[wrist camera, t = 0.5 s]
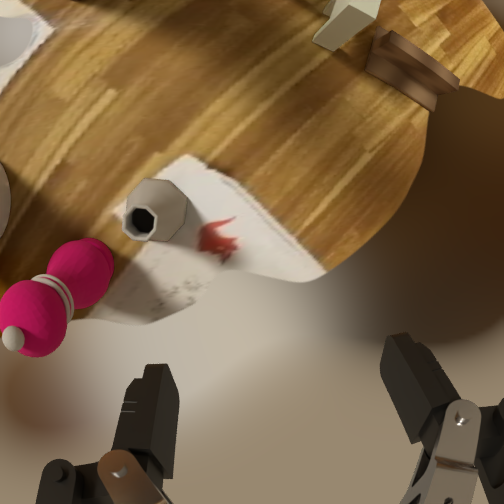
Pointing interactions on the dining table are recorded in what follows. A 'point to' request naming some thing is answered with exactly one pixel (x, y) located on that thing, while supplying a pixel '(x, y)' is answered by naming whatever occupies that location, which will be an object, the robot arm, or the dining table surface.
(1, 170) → the utensil holder
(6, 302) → the pepper mill
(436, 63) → the walnut rail
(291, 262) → the dining table surface
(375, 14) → the pale slotted block
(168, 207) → the flask
